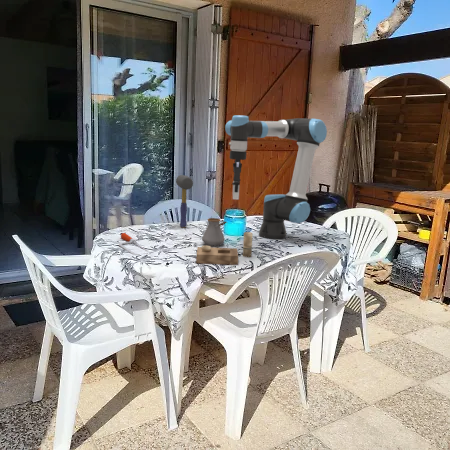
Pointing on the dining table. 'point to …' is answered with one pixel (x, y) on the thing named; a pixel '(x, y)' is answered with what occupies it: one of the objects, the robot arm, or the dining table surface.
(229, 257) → the wooden block with hole
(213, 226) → the coffee pot
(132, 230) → the dining table surface
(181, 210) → the rubber mallet
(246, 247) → the beech dowel
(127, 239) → the hand saw
